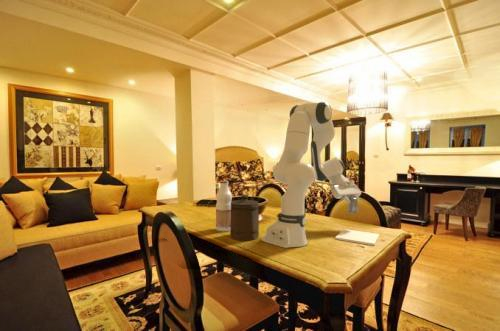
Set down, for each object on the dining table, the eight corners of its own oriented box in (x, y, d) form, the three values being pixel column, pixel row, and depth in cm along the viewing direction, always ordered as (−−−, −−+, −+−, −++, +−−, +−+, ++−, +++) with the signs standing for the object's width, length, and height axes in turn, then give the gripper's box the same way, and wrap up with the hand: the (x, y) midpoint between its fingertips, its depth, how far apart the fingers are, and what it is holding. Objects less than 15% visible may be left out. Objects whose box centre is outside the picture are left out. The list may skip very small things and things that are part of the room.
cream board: (335, 239, 127) (335, 237, 127) (343, 230, 142) (343, 229, 142) (374, 245, 117) (374, 243, 117) (379, 236, 132) (379, 234, 132)
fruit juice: (221, 232, 138) (221, 182, 137) (212, 229, 145) (212, 180, 144) (235, 229, 144) (235, 181, 143) (226, 226, 151) (226, 180, 150)
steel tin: (347, 212, 143) (347, 198, 143) (349, 210, 147) (349, 197, 147) (356, 213, 140) (357, 199, 140) (358, 211, 145) (358, 197, 144)
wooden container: (247, 230, 142) (247, 192, 141) (264, 237, 130) (264, 195, 130) (225, 235, 133) (225, 194, 133) (240, 242, 121) (240, 197, 121)
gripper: (331, 181, 144) (345, 200, 136) (354, 180, 155) (368, 198, 146) (325, 188, 148) (338, 207, 140) (348, 186, 159) (362, 204, 150)
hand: (354, 202), depth 143 cm, fingers closed on steel tin, 5 cm apart
